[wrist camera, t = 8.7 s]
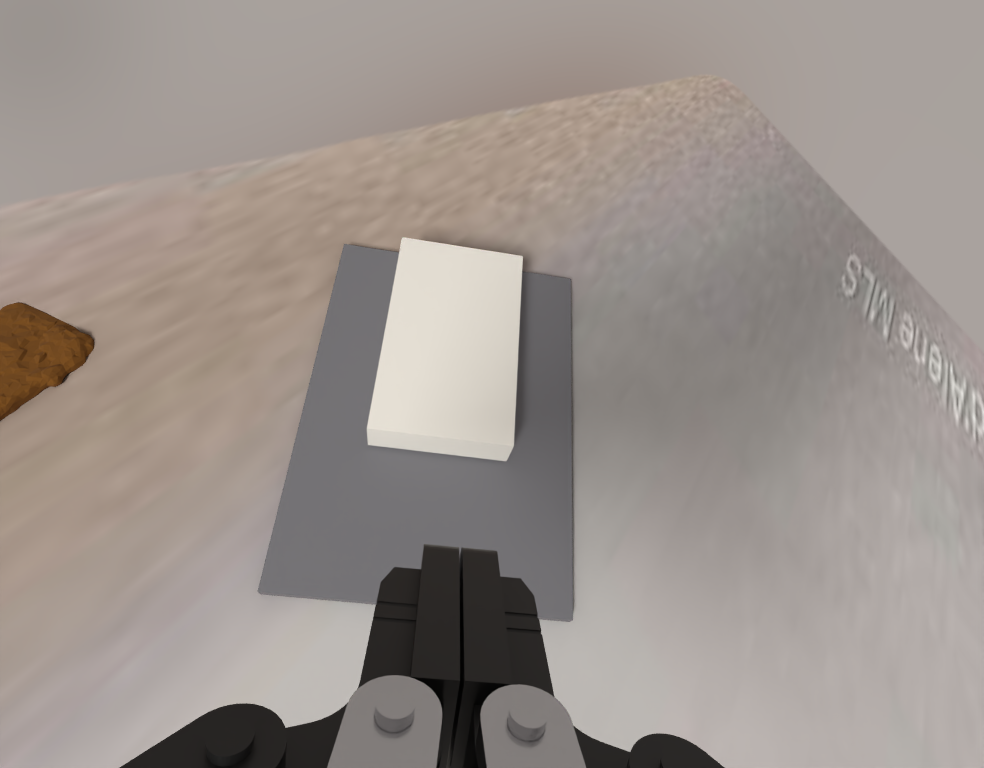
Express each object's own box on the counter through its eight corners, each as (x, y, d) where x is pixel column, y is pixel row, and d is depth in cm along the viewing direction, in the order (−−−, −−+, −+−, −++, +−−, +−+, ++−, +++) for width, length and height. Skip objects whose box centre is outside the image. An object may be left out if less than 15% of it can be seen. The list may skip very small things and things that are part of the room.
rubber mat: (344, 250, 36) (344, 243, 35) (568, 284, 37) (570, 278, 37) (260, 594, 26) (257, 591, 25) (569, 621, 27) (572, 620, 27)
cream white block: (367, 446, 29) (401, 262, 35) (505, 462, 30) (515, 279, 36) (366, 428, 27) (402, 237, 33) (513, 446, 28) (522, 256, 34)
